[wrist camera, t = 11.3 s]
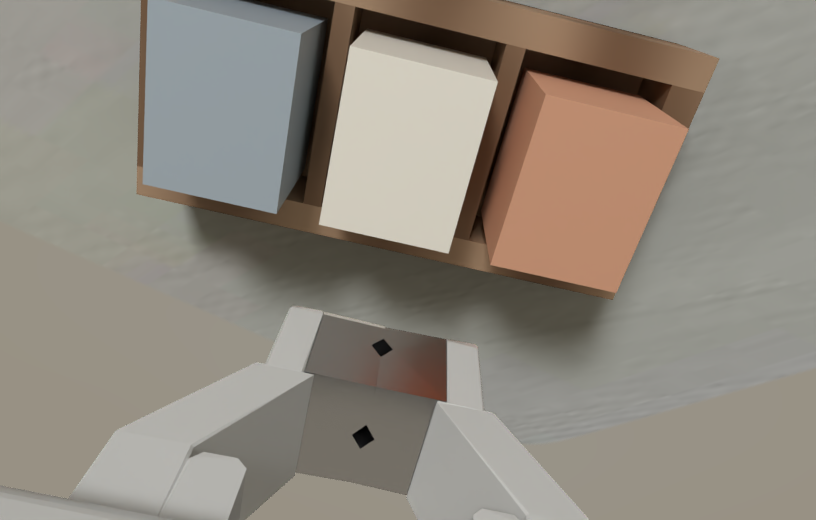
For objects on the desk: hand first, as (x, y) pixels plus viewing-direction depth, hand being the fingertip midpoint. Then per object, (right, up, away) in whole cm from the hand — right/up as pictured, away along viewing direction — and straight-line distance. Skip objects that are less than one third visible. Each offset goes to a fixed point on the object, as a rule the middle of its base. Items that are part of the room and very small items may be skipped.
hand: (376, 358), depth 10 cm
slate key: (-5, +8, +14) cm, 17 cm away
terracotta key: (+6, +6, +15) cm, 17 cm away
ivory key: (+1, +7, +14) cm, 16 cm away
